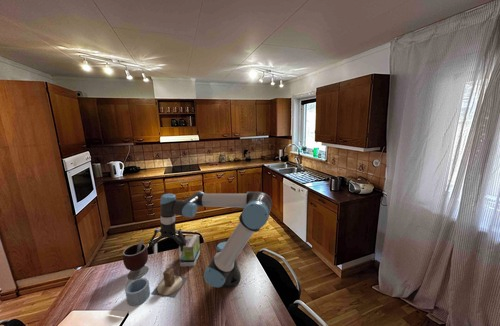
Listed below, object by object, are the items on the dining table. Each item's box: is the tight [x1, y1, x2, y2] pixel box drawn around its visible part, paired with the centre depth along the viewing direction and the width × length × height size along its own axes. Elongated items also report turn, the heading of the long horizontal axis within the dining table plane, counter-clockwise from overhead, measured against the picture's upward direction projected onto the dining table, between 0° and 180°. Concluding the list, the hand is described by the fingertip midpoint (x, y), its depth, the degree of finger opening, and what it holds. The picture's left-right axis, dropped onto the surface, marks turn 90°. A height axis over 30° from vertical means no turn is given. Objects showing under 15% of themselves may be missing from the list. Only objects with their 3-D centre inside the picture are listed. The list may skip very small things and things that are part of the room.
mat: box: [150, 276, 189, 299], centre depth 120 cm, size 15×15×1 cm
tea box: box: [179, 234, 201, 267], centre depth 142 cm, size 15×10×15 cm, turn 179°
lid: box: [156, 267, 183, 295], centre depth 119 cm, size 14×14×10 cm
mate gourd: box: [122, 237, 150, 281], centre depth 131 cm, size 16×14×20 cm
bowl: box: [124, 277, 151, 307], centre depth 112 cm, size 11×11×8 cm
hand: (167, 255), depth 115 cm, fingers open, 13 cm apart
